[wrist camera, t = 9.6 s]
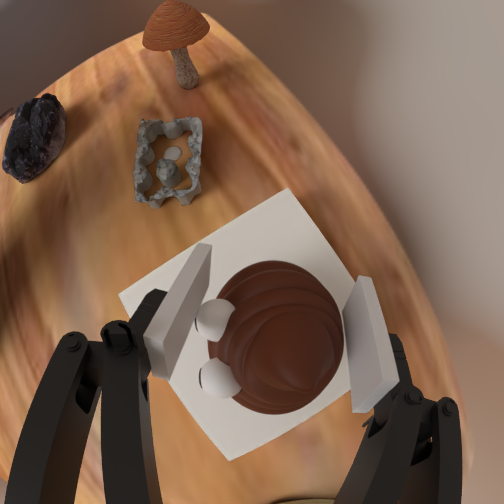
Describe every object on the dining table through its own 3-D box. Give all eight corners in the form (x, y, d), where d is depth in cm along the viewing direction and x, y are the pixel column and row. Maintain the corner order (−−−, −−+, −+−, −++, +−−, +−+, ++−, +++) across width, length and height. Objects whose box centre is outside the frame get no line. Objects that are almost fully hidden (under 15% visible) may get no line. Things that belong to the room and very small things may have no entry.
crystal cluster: (7, 181, 30) (-29, 162, 20) (38, 113, 32) (11, 85, 22) (52, 192, 31) (11, 168, 21) (88, 113, 32) (60, 76, 23)
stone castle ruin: (150, 135, 31) (140, 115, 27) (207, 129, 31) (203, 107, 27) (137, 212, 28) (122, 197, 24) (203, 208, 28) (195, 191, 24)
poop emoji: (333, 398, 17) (401, 450, 8) (212, 410, 16) (191, 484, 7) (324, 260, 19) (391, 215, 10) (202, 267, 18) (168, 223, 9)
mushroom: (180, 115, 31) (151, 21, 16) (151, 90, 32) (121, 9, 18) (228, 85, 32) (221, -7, 17) (195, 64, 33) (181, -16, 19)
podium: (131, 296, 26) (114, 293, 22) (283, 200, 28) (288, 183, 24) (231, 446, 22) (228, 464, 19) (381, 347, 25) (400, 350, 21)
